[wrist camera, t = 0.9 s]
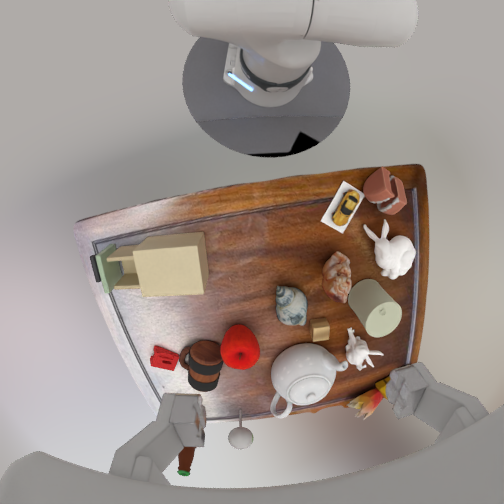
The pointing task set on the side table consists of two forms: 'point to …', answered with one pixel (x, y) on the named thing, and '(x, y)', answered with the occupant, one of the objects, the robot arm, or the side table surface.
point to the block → (319, 329)
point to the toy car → (343, 207)
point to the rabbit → (392, 252)
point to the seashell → (291, 305)
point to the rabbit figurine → (358, 351)
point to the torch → (370, 399)
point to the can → (374, 308)
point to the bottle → (185, 460)
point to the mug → (203, 365)
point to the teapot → (303, 375)
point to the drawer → (115, 268)
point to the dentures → (385, 191)
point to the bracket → (164, 358)
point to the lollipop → (240, 436)
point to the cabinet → (172, 264)
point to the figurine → (337, 277)
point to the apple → (240, 348)
